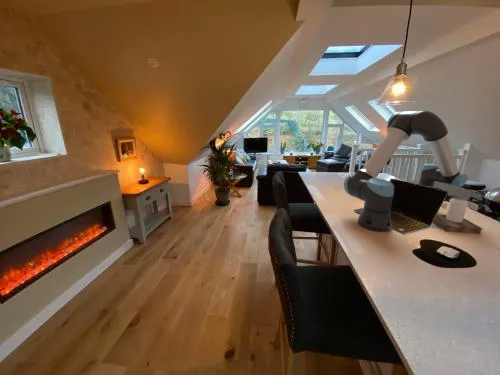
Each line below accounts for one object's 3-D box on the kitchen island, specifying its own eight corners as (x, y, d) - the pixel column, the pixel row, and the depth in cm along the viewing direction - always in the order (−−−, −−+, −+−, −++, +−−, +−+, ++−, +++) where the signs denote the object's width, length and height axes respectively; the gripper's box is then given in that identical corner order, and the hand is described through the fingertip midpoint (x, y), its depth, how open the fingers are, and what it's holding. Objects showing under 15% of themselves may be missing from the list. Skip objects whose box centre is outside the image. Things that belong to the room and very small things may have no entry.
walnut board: (445, 231, 110) (446, 225, 110) (427, 218, 125) (428, 213, 124) (480, 233, 108) (482, 228, 107) (457, 220, 122) (459, 215, 122)
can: (465, 223, 112) (472, 201, 108) (450, 222, 113) (456, 199, 110) (457, 218, 118) (463, 196, 114) (442, 217, 119) (448, 195, 116)
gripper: (457, 201, 130) (488, 215, 110) (409, 198, 134) (431, 212, 114) (460, 188, 128) (492, 201, 108) (412, 186, 132) (434, 198, 112)
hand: (461, 207), depth 111 cm, fingers open, 13 cm apart
